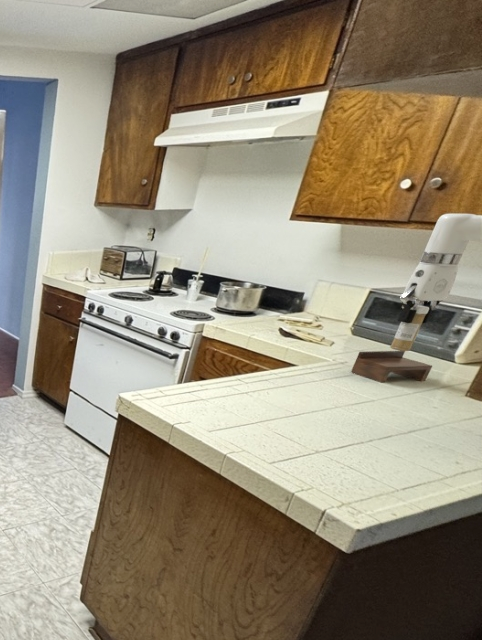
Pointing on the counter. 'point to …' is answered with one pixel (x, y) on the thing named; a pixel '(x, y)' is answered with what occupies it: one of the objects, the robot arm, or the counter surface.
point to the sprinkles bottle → (409, 330)
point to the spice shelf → (388, 366)
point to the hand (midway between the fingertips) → (412, 321)
